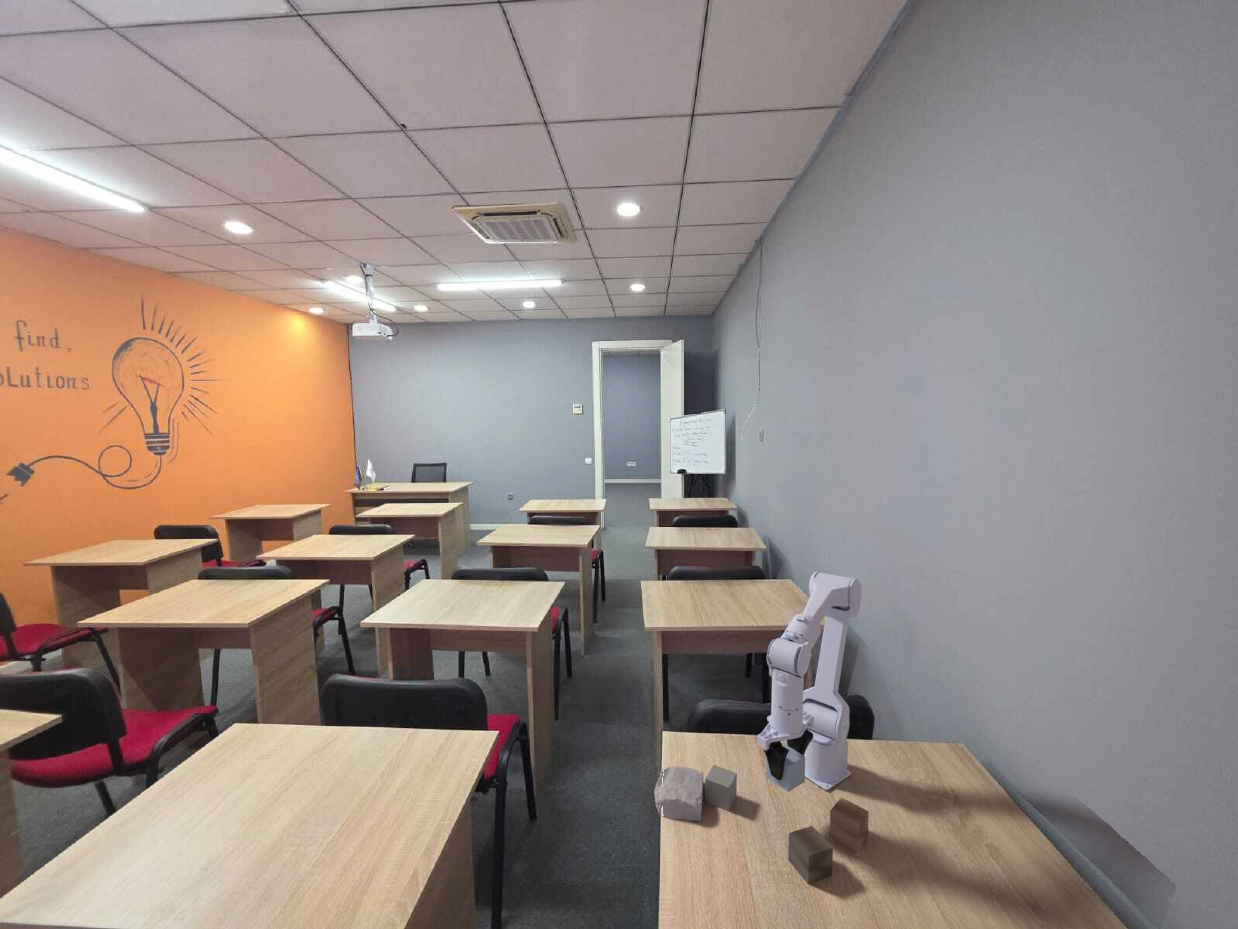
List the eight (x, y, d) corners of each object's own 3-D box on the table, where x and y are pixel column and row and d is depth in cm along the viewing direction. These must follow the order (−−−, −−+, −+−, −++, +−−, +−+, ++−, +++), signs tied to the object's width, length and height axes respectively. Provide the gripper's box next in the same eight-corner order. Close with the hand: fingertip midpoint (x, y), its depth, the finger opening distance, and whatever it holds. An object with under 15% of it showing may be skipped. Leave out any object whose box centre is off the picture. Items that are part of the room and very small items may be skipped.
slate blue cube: (782, 767, 97) (783, 743, 97) (804, 782, 93) (805, 756, 93) (766, 777, 94) (766, 752, 94) (788, 792, 90) (788, 766, 90)
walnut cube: (840, 822, 94) (841, 797, 94) (867, 837, 91) (868, 811, 90) (829, 836, 91) (830, 810, 90) (857, 852, 87) (858, 826, 87)
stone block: (655, 827, 95) (705, 824, 93) (650, 802, 95) (701, 799, 93) (661, 786, 107) (706, 783, 105) (656, 765, 107) (702, 761, 105)
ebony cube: (811, 852, 87) (812, 825, 87) (832, 876, 82) (832, 847, 82) (788, 860, 85) (788, 833, 85) (808, 885, 81) (808, 856, 80)
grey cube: (713, 787, 103) (713, 764, 103) (736, 796, 101) (736, 773, 100) (704, 802, 99) (705, 778, 99) (728, 812, 96) (729, 787, 96)
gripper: (792, 683, 100) (791, 747, 101) (745, 704, 92) (743, 774, 93) (823, 698, 95) (822, 766, 95) (775, 722, 86) (774, 796, 87)
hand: (785, 771), depth 94 cm, fingers closed on slate blue cube, 5 cm apart
